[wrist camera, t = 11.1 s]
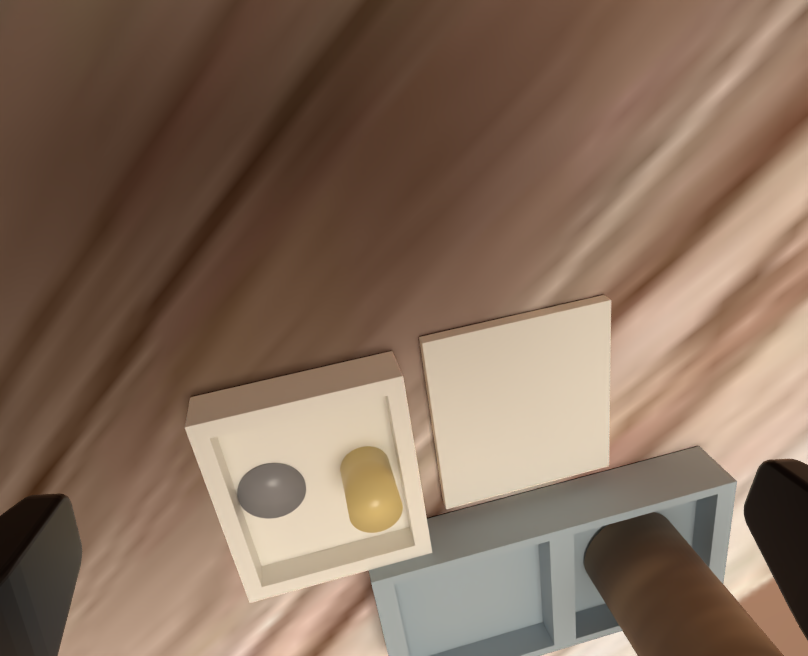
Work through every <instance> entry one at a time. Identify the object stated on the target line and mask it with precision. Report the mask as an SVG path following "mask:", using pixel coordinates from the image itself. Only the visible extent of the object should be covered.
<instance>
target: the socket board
mask: <svg viewBox="0 0 808 656" xmlns="http://www.w3.org/2000/svg"><path fill="white" fill-rule="evenodd" d="M736 485H737V481H736V480H735V479H734V478H733V477H732V476H731V475H730V474H729V473H727V472H726V471H725V470H724V469H723V468H722V467H721V466H720V465H719V464H718V463H717V462H716V461H715V460H714V459H712V458H711V457H710V456H709V455H708V454H707V453H706V452H705V451H704V450H703V449H702V448H701V447H700V446H698V447H694V448H690V449H686V450H683V451H679V452H675V453H671V454H668V455H664V456H660V457H656V458H653V459H649V460H645V461H641V462H638V463H634V464H630V465H626V466H623V467H619V468H615V469H611V470H608V471H604V472H600V473H596V474H593V475H589V476H585V477H581V478H578V479H574V480H570V481H566V482H563V483H559V484H555V485H551V486H548V487H544V488H540V489H536V490H533V491H529V492H525V493H522V494H518V495H514V496H510V497H507V498H503V499H499V500H495V501H492V502H488V503H484V504H480V505H477V506H473V507H469V508H465V509H462V510H458V511H454V512H450V513H447V514H443V515H439V516H435V517H432V518H428V519H427V523H428V529H429V535H430V541H431V547H432V553H430V554H426V555H423V556H419V557H415V558H412V559H408V560H405V561H401V562H397V563H394V564H390V565H386V566H383V567H379V568H375V569H372V570H369V574H370V579H371V584H372V588H373V592H374V596H375V601H376V605H377V609H378V613H379V618H380V622H381V626H382V630H383V635H384V639H385V643H386V647H387V652H388V656H541V655H544V654H547V653H551V652H554V651H557V650H561V649H564V648H567V647H571V646H574V645H577V644H580V643H584V642H587V641H590V640H594V639H597V638H600V637H603V636H607V635H610V634H613V633H617V632H620V631H622V629H621V628H620V626H619V624H618V623H617V621H616V619H615V618H614V616H613V615H612V613H611V611H610V610H609V608H608V606H607V605H606V603H605V602H604V600H603V598H602V597H601V595H600V593H599V592H598V590H597V589H596V587H595V585H594V584H593V582H592V581H591V579H590V577H589V576H588V574H587V572H586V570H585V565H584V560H585V555H586V551H587V549H588V547H589V545H590V543H591V542H592V540H593V539H594V538H595V536H596V535H597V534H598V533H599V532H600V531H601V530H602V529H603V528H605V527H606V526H607V525H609V524H612V523H616V522H619V521H623V520H627V519H630V518H634V517H637V516H641V515H645V514H648V513H652V512H656V513H659V514H661V515H663V516H665V517H666V518H667V519H668V520H669V521H670V522H671V523H672V525H673V526H674V527H675V528H676V529H677V531H678V532H679V533H680V534H681V535H682V536H683V538H684V539H685V540H686V541H687V542H688V544H689V545H690V546H691V547H692V548H693V549H694V551H695V552H696V553H697V554H698V555H699V556H700V558H701V559H702V560H703V561H704V562H705V564H706V565H707V566H708V567H709V568H710V569H711V571H712V572H713V573H714V574H715V575H716V576H717V578H718V579H719V580H720V581H721V582H722V584H723V582H724V575H725V567H726V560H727V552H728V545H729V537H730V530H731V522H732V515H733V507H734V500H735V492H736Z"/></svg>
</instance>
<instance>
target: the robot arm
mask: <svg viewBox="0 0 808 656" xmlns="http://www.w3.org/2000/svg"><path fill="white" fill-rule="evenodd" d="M744 517H745V521H746V523H747V526H748V528H749V530H750V532H751V534H752V535H753V537H754V539H755V541H756V543H757V545H758V547H759V549H760V551H761V553H762V555H763V557H764V559H765V561H766V563H767V565H768V567H769V569H770V571H771V573H772V575H773V577H774V579H775V581H776V583H777V584H778V586H779V589H780V591H781V593H782V594H783V596H784V598H785V600H786V602H787V604H788V606H789V608H790V610H791V612H792V614H793V616H794V617H795V619H796V621H797V623H798V625H799V627H800V629H801V630H802V632H803V634H804V635H805V637H806V638H807V640H808V465H807V464H805V463H803V462H801V461H798V460H794V459H775V460H767V461H764V462H763V463H762V464H761V465H760V466H759V468H758V470H757V472H756V475H755V478H754V480H753V483H752V485H751V488H750V491H749V493H748V496H747V499H746V501H745V504H744ZM81 560H82V544H81V540H80V536H79V532H78V528H77V524H76V520H75V516H74V512H73V508H72V504H71V501H70V499H69V498H68V497H67V496H66V495H64V494H42V495H32V496H28V497H26V498H24V499H23V500H21V501H20V502H18V503H17V504H16V505H14V506H13V507H12V508H10V509H9V510H8V511H6V512H5V513H3V514H2V515H1V516H0V656H58V652H59V648H60V644H61V640H62V637H63V633H64V629H65V625H66V621H67V617H68V613H69V609H70V605H71V601H72V597H73V593H74V589H75V585H76V582H77V578H78V574H79V570H80V566H81Z"/></svg>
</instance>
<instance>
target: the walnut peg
mask: <svg viewBox="0 0 808 656" xmlns="http://www.w3.org/2000/svg"><path fill="white" fill-rule="evenodd" d="M584 565H585V570H586V572H587V574H588V576H589V577H590V579H591V581H592V582H593V584H594V585H595V587H596V589H597V590H598V592H599V593H600V595H601V597H602V598H603V600H604V602H605V603H606V605H607V606H608V608H609V610H610V611H611V613H612V615H613V616H614V618H615V619H616V621H617V623H618V624H619V626H620V628H621V629H622V631H623V632H624V634H625V636H626V637H627V639H628V640H629V642H630V644H631V645H632V647H633V649H634V650H635V652H636V653H637V655H638V656H784V655H783V654H782V653H781V652H780V651H779V649H778V648H777V647H776V646H775V645H774V644H773V642H772V641H771V640H770V639H769V638H768V637H767V635H766V634H765V633H764V632H763V631H762V629H761V628H760V627H759V626H758V625H757V624H756V623H755V621H754V620H753V619H752V618H751V617H750V615H749V614H748V613H747V612H746V611H745V610H744V608H743V607H742V606H741V605H740V604H739V602H738V601H737V600H736V599H735V598H734V596H733V595H732V594H731V593H730V592H729V591H728V589H727V588H726V587H725V586H724V585H723V584H722V582H721V581H720V580H719V579H718V578H717V576H716V575H715V574H714V573H713V572H712V571H711V569H710V568H709V567H708V566H707V565H706V564H705V562H704V561H703V560H702V559H701V558H700V556H699V555H698V554H697V553H696V552H695V551H694V549H693V548H692V547H691V546H690V545H689V544H688V542H687V541H686V540H685V539H684V538H683V536H682V535H681V534H680V533H679V532H678V531H677V529H676V528H675V527H674V526H673V525H672V523H671V522H670V521H669V520H668V519H667V518H666V517H665V516H663V515H661V514H659V513H656V512H652V513H648V514H645V515H641V516H637V517H634V518H630V519H627V520H623V521H619V522H616V523H612V524H609V525H607V526H606V527H605V528H603V529H602V530H601V531H600V532H599V533H598V534H597V535H596V536H595V538H594V539H593V540H592V542H591V543H590V545H589V547H588V549H587V551H586V555H585V560H584Z"/></svg>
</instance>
